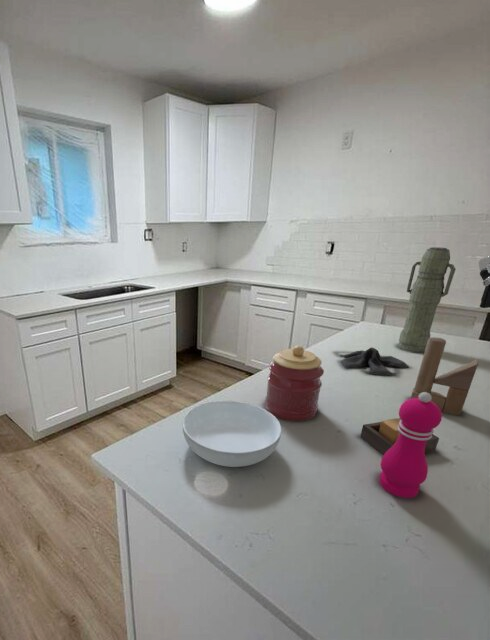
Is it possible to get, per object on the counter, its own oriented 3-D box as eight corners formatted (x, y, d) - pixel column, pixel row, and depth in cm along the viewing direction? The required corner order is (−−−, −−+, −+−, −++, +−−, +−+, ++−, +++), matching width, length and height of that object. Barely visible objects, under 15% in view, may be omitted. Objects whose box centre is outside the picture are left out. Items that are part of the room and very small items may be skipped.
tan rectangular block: (403, 435, 82) (408, 416, 80) (417, 445, 78) (424, 425, 76) (376, 439, 80) (381, 420, 78) (390, 450, 77) (396, 430, 75)
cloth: (411, 363, 120) (416, 346, 117) (397, 382, 107) (402, 363, 105) (341, 348, 134) (344, 332, 131) (322, 363, 121) (324, 346, 119)
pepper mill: (428, 503, 64) (463, 404, 56) (383, 498, 65) (412, 401, 57) (410, 475, 70) (439, 384, 62) (370, 472, 72) (393, 381, 64)
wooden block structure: (459, 416, 89) (483, 348, 82) (408, 404, 96) (427, 340, 88) (460, 410, 92) (483, 344, 85) (410, 398, 98) (428, 335, 91)
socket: (402, 430, 85) (406, 417, 83) (434, 452, 77) (439, 438, 75) (359, 438, 82) (362, 424, 81) (388, 461, 75) (392, 446, 73)
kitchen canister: (260, 415, 92) (266, 351, 85) (269, 393, 103) (275, 334, 95) (314, 427, 87) (326, 359, 80) (318, 402, 97) (329, 341, 90)
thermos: (429, 356, 125) (460, 250, 111) (390, 349, 132) (415, 248, 118) (432, 348, 131) (462, 247, 117) (395, 342, 138) (419, 246, 124)
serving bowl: (295, 447, 80) (299, 420, 77) (242, 498, 66) (245, 467, 63) (219, 414, 93) (220, 390, 90) (162, 450, 80) (161, 424, 77)
